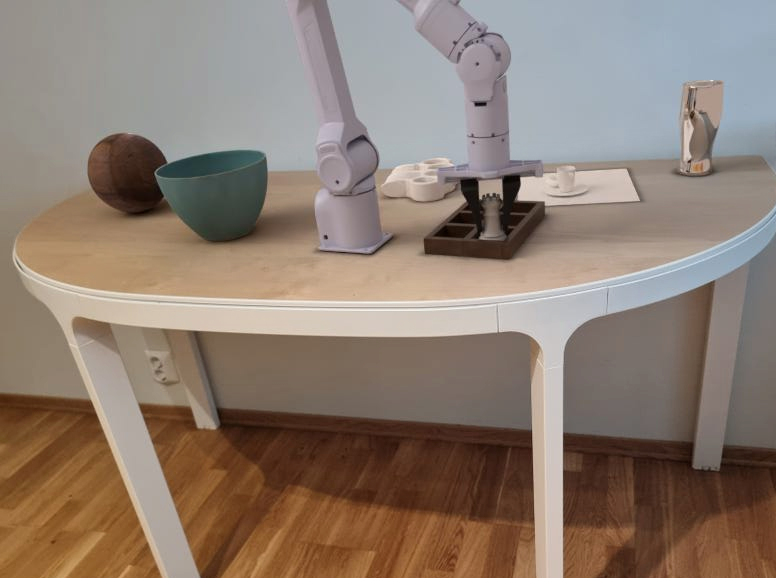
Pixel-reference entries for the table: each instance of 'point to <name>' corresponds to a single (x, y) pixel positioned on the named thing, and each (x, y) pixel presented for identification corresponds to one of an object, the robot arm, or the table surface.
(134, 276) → the table surface
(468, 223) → the rack
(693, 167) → the beer glass
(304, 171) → the table surface
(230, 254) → the table surface
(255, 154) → the plant pot
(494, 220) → the rook chess piece
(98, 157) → the wooden sphere
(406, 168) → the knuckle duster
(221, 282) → the table surface
